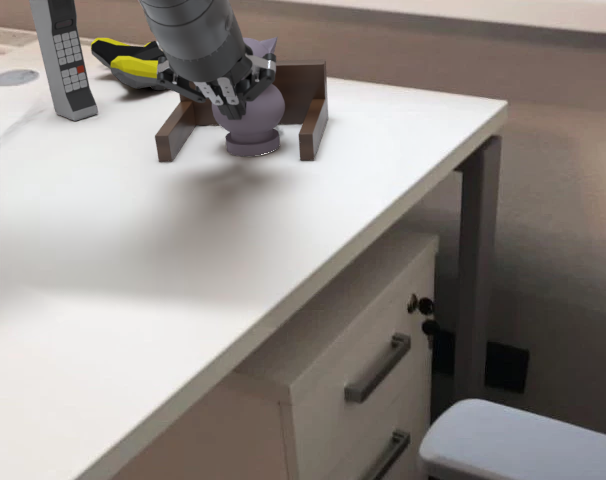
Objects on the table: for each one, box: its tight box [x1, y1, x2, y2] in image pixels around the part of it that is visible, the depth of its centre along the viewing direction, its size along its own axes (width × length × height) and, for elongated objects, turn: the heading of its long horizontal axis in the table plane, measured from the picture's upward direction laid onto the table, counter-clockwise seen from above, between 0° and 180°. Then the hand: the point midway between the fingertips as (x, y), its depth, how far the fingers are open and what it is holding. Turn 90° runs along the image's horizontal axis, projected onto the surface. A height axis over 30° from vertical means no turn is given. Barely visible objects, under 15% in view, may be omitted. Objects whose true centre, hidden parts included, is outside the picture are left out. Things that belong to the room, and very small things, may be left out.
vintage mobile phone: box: [28, 0, 99, 122], centre depth 110 cm, size 4×5×25 cm
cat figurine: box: [212, 36, 285, 157], centre depth 100 cm, size 8×8×12 cm
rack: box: [154, 58, 329, 163], centre depth 104 cm, size 14×18×7 cm
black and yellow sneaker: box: [90, 37, 168, 91], centre depth 125 cm, size 15×6×10 cm
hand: (235, 111), depth 98 cm, fingers closed
